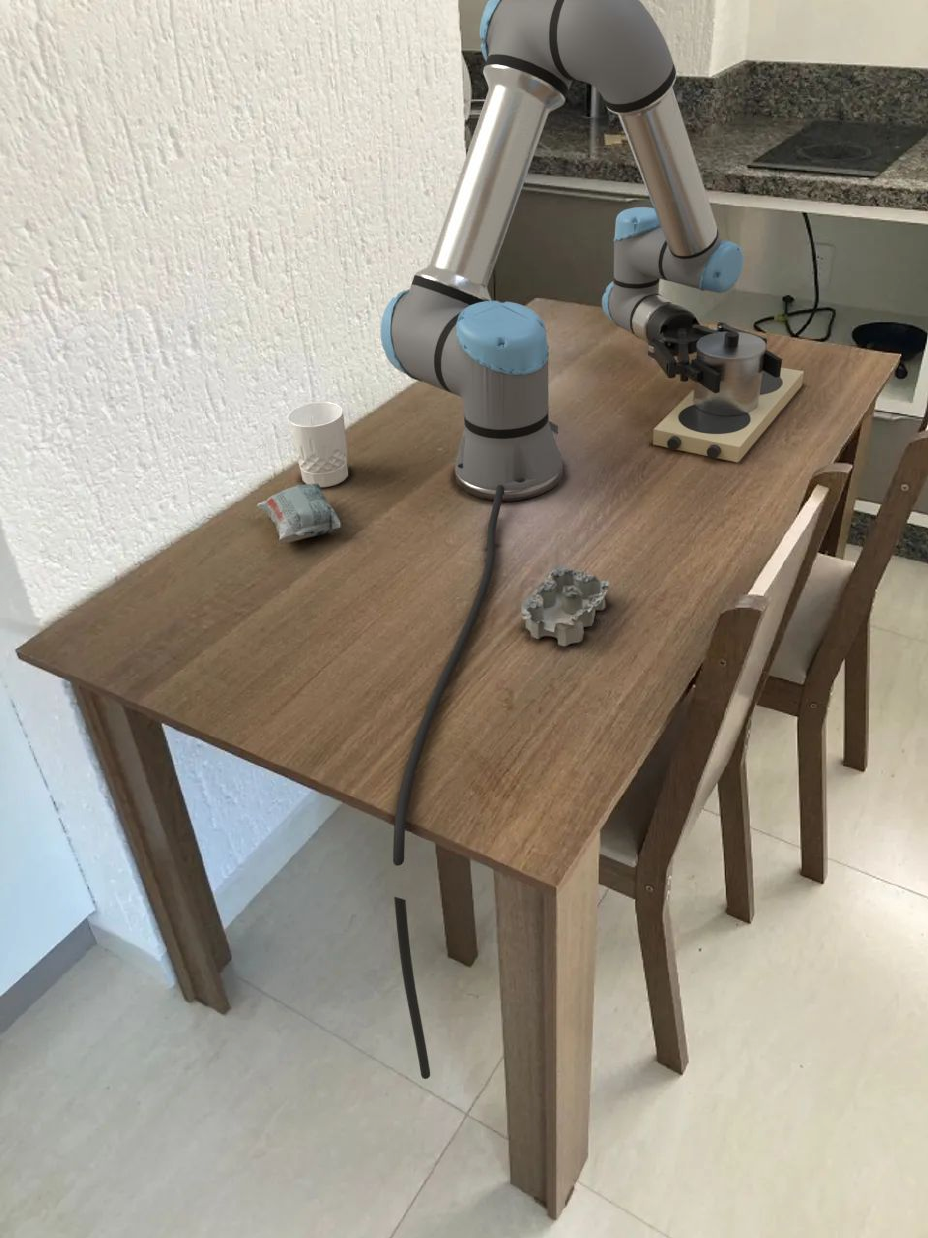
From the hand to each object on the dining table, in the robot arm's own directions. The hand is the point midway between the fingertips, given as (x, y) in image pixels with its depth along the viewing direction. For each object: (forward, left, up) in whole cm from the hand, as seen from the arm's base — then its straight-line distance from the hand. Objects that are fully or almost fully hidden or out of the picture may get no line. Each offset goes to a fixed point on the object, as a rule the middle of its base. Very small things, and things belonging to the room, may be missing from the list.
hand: (748, 376), depth 146 cm
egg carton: (-53, +2, -9) cm, 54 cm away
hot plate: (+4, +4, -9) cm, 10 cm away
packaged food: (-52, +43, -9) cm, 68 cm away
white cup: (-39, +49, -9) cm, 63 cm away
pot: (+3, +4, -6) cm, 8 cm away
